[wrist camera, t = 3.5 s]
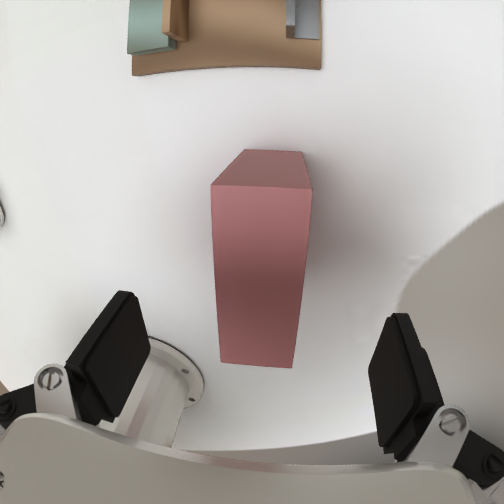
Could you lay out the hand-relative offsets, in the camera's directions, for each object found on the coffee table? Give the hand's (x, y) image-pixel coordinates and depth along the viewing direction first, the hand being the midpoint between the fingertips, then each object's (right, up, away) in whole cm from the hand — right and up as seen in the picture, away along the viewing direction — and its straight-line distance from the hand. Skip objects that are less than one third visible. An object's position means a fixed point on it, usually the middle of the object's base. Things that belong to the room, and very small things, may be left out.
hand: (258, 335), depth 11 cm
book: (+1, +6, +12) cm, 13 cm away
